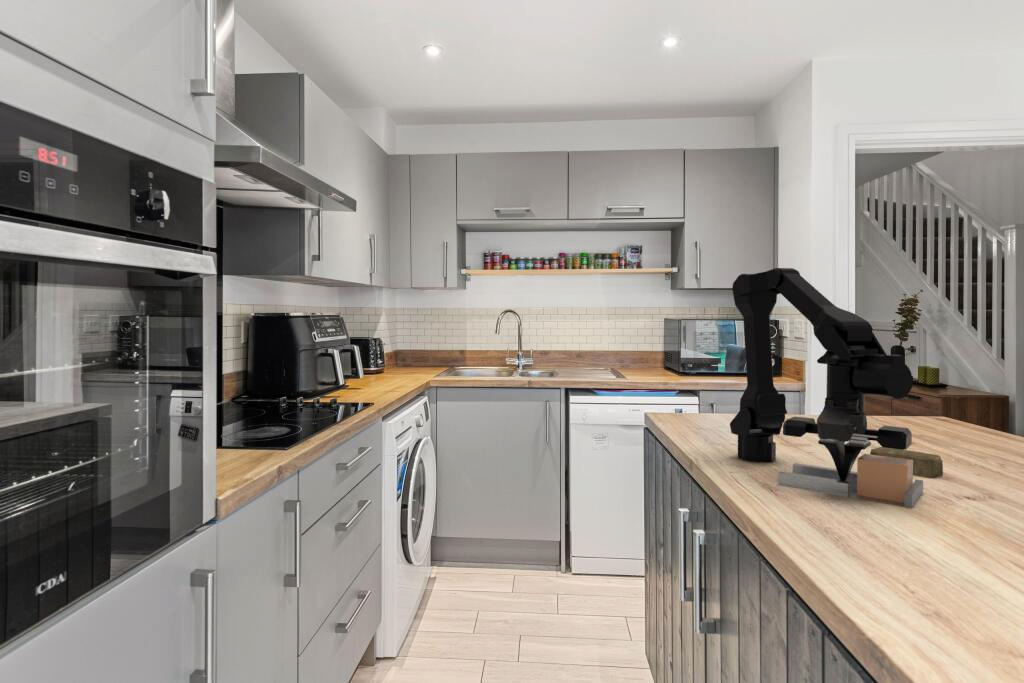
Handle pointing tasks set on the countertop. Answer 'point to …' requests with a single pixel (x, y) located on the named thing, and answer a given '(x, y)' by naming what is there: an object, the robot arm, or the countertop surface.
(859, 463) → the block
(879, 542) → the countertop surface
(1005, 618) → the countertop surface
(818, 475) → the chute
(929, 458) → the stone block
